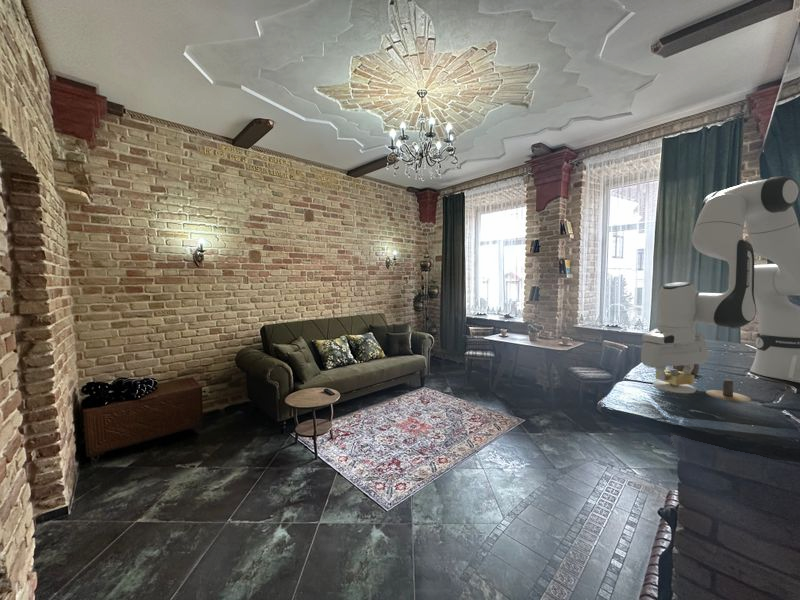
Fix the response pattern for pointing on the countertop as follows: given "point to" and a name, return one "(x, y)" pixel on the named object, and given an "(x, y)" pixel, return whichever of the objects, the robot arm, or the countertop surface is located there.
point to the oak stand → (728, 393)
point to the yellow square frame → (678, 378)
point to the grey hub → (672, 387)
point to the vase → (693, 372)
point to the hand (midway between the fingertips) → (674, 379)
